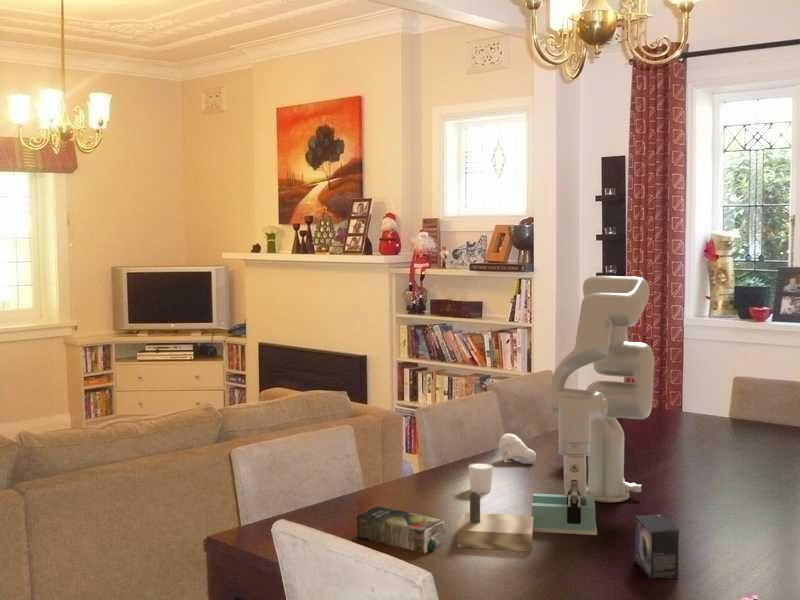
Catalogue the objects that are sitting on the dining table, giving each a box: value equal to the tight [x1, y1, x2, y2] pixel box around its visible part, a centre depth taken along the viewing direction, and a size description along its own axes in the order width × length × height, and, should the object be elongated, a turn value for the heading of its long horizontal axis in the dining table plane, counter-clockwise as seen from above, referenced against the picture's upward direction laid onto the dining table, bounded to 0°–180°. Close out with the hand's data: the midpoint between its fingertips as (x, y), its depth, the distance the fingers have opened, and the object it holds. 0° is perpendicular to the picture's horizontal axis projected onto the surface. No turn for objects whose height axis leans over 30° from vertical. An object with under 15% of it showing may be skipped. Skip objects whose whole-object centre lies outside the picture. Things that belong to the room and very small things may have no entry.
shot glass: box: [468, 462, 494, 494], centre depth 253 cm, size 7×7×7 cm
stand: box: [456, 491, 534, 552], centre depth 214 cm, size 17×13×11 cm
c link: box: [531, 493, 596, 531], centre depth 224 cm, size 15×10×6 cm, turn 80°
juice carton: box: [356, 506, 446, 554], centre depth 214 cm, size 20×10×6 cm, turn 58°
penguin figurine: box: [498, 433, 537, 465], centre depth 283 cm, size 6×8×12 cm
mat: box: [533, 519, 598, 536], centre depth 224 cm, size 15×12×1 cm
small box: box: [634, 514, 680, 580], centre depth 195 cm, size 11×6×10 cm, turn 5°
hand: (573, 516), depth 220 cm, fingers open, 9 cm apart
